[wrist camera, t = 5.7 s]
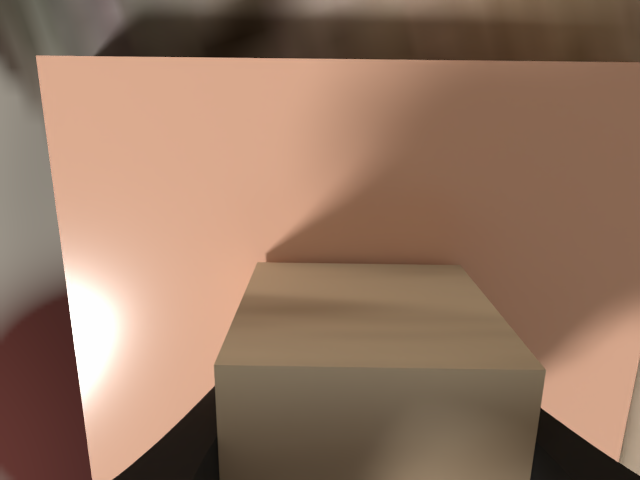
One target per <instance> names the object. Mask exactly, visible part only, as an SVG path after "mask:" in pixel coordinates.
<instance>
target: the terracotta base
mask: <svg viewBox="0 0 640 480" xmlns="http://www.w3.org/2000/svg"><path fill="white" fill-rule="evenodd" d="M36 60H37V67H38V75H39V82H40V90H41V97H42V105H43V112H44V120H45V127H46V135H47V143H48V150H49V158H50V165H51V173H52V179H53V188H54V195H55V203H56V210H57V217H58V225H59V233H60V239H61V248H62V255H63V263H64V270H65V278H66V285H67V293H68V300H69V308H70V315H71V323H72V330H73V338H74V344H75V345H74V346H75V353H76V360H77V368H78V376H79V383H80V391H81V398H82V405H83V413H84V420H85V428H86V436H87V443H88V450H89V458H90V465H91V473H92V480H113V479H114V478H115V477H116V476H118V475H119V474H120V473H122V472H123V471H124V470H125V469H127V468H128V467H129V466H130V465H132V464H133V463H134V462H135V461H136V460H137V459H139V458H140V457H141V456H142V455H143V454H144V453H146V452H147V451H148V450H149V449H150V448H151V447H152V446H154V445H155V444H156V443H157V442H158V441H159V440H160V439H161V438H162V437H163V436H164V435H166V434H167V433H168V432H169V431H170V430H171V429H172V428H173V427H174V426H175V425H176V424H177V423H178V422H179V421H180V420H181V419H182V418H183V417H184V416H185V415H186V414H187V413H188V412H189V411H190V410H191V409H192V408H193V407H194V406H195V405H196V404H197V403H198V402H199V401H200V400H201V399H202V398H203V397H204V396H205V395H206V394H207V393H208V392H209V391H210V390H211V389H212V388H213V387H214V386H215V378H214V363H215V361H216V359H217V356H218V354H219V352H220V349H221V347H222V345H223V342H224V340H225V337H226V335H227V333H228V330H229V328H230V326H231V323H232V321H233V319H234V316H235V314H236V311H237V309H238V307H239V304H240V302H241V300H242V297H243V295H244V293H245V290H246V288H247V285H248V283H249V281H250V278H251V276H252V274H253V271H254V269H255V267H256V264H257V262H274V263H345V264H417V265H461V267H462V268H463V269H464V270H465V271H466V273H467V274H468V275H469V276H470V278H471V279H472V280H473V281H474V282H475V284H476V285H477V286H478V287H479V289H480V290H481V291H482V292H483V293H484V295H485V296H486V297H487V298H488V300H489V301H490V302H491V303H492V305H493V306H494V307H495V308H496V309H497V311H498V312H499V313H500V314H501V316H502V317H503V318H504V319H505V320H506V322H507V323H508V324H509V325H510V327H511V328H512V329H513V330H514V331H515V333H516V334H517V335H518V336H519V338H520V339H521V340H522V341H523V342H524V344H525V345H526V346H527V347H528V349H529V350H530V351H531V352H532V353H533V355H534V356H535V357H536V358H537V360H538V361H539V362H540V363H541V364H542V366H543V367H544V368H545V369H546V375H545V381H544V388H543V395H542V402H541V408H542V409H543V410H545V411H546V412H547V413H549V414H550V415H551V416H553V417H554V418H556V419H557V420H558V421H560V422H561V423H562V424H564V425H565V426H567V427H568V428H569V429H571V430H572V431H573V432H575V433H576V434H578V435H579V436H580V437H582V438H583V439H585V440H586V441H588V442H589V443H590V444H592V445H593V446H595V447H596V448H598V449H599V450H601V451H602V452H604V453H605V454H607V455H608V456H609V457H611V458H612V459H614V460H616V461H617V462H619V457H620V452H621V447H622V442H623V438H624V433H625V428H626V423H627V418H628V413H629V408H630V403H631V398H632V393H633V388H634V383H635V378H636V373H637V368H638V364H639V359H640V62H571V61H479V60H388V59H296V58H205V57H114V56H36Z"/></svg>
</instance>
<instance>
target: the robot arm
mask: <svg viewBox="0 0 640 480" xmlns="http://www.w3.org/2000/svg"><path fill="white" fill-rule="evenodd" d="M113 480H220V477H219V457H218V437H217V417H216V398H215V386H214V387H213V388H212V389H211V390H210V391H209V392H208V393H207V394H206V395H205V396H204V397H203V398H202V399H201V400H200V401H199V402H198V403H197V404H196V405H195V406H194V407H193V408H192V409H191V410H190V411H189V412H188V413H187V414H186V415H185V416H184V417H183V418H182V419H181V420H180V421H179V422H178V423H177V424H176V425H175V426H174V427H173V428H172V429H171V430H170V431H169V432H168V433H167V434H166V435H164V436H163V437H162V438H161V439H160V440H159V441H158V442H157V443H156V444H155V445H154V446H152V447H151V448H150V449H149V450H148V451H147V452H146V453H144V454H143V455H142V456H141V457H140V458H139V459H137V460H136V461H135V462H134V463H133V464H132V465H130V466H129V467H128V468H127V469H125V470H124V471H123V472H122V473H120V474H119V475H118V476H116V477H115V478H114V479H113ZM530 480H640V476H639V475H637V474H636V473H634V472H633V471H631V470H630V469H628V468H626V467H625V466H623V465H622V464H620V463H619V462H617V461H616V460H614V459H612V458H611V457H609V456H608V455H607V454H605V453H604V452H602V451H601V450H599V449H598V448H596V447H595V446H593V445H592V444H590V443H589V442H588V441H586V440H585V439H583V438H582V437H580V436H579V435H578V434H576V433H575V432H573V431H572V430H571V429H569V428H568V427H567V426H565V425H564V424H562V423H561V422H560V421H558V420H557V419H556V418H554V417H553V416H551V415H550V414H549V413H547V412H546V411H545V410H543V409H542V408H541V409H540V415H539V422H538V429H537V436H536V443H535V449H534V456H533V463H532V470H531V477H530Z"/></svg>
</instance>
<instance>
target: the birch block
mask: <svg viewBox="0 0 640 480" xmlns="http://www.w3.org/2000/svg"><path fill="white" fill-rule="evenodd" d="M545 375H546V369H545V368H544V367H543V366H542V364H541V363H540V362H539V361H538V360H537V358H536V357H535V356H534V355H533V353H532V352H531V351H530V350H529V349H528V347H527V346H526V345H525V344H524V342H523V341H522V340H521V339H520V338H519V336H518V335H517V334H516V333H515V331H514V330H513V329H512V328H511V327H510V325H509V324H508V323H507V322H506V320H505V319H504V318H503V317H502V316H501V314H500V313H499V312H498V311H497V309H496V308H495V307H494V306H493V305H492V303H491V302H490V301H489V300H488V298H487V297H486V296H485V295H484V293H483V292H482V291H481V290H480V289H479V287H478V286H477V285H476V284H475V282H474V281H473V280H472V279H471V278H470V276H469V275H468V274H467V273H466V271H465V270H464V269H463V268H462V267H461V265H417V264H345V263H274V262H257V264H256V267H255V269H254V271H253V274H252V276H251V278H250V281H249V283H248V285H247V288H246V290H245V293H244V295H243V297H242V300H241V302H240V304H239V307H238V309H237V311H236V314H235V316H234V319H233V321H232V323H231V326H230V328H229V330H228V333H227V335H226V337H225V340H224V342H223V345H222V347H221V349H220V352H219V354H218V356H217V359H216V361H215V363H214V378H215V398H216V417H217V437H218V457H219V477H220V480H530V477H531V470H532V463H533V456H534V449H535V443H536V436H537V429H538V422H539V415H540V409H541V402H542V395H543V388H544V381H545Z"/></svg>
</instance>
